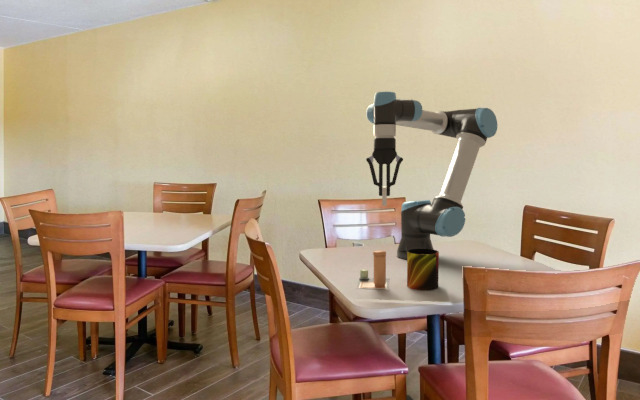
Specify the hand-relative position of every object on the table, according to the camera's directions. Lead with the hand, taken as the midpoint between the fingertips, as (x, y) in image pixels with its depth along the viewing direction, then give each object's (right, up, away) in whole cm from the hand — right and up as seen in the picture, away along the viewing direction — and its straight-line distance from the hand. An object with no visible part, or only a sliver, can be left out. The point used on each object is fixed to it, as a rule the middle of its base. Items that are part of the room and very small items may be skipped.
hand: (384, 205), depth 171 cm
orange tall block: (-4, -25, -17) cm, 31 cm away
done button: (-8, -24, -8) cm, 27 cm away
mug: (+8, -26, -15) cm, 32 cm away
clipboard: (-5, -26, -13) cm, 29 cm away
